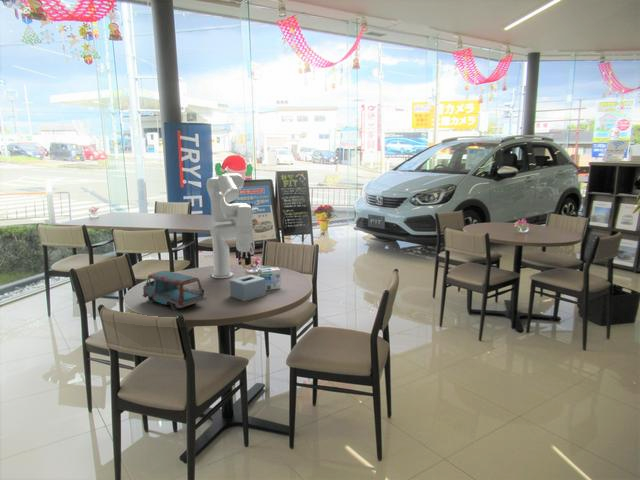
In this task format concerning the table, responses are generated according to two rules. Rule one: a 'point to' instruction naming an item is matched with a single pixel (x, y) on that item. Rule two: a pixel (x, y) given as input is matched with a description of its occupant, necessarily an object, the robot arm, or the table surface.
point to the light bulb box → (271, 277)
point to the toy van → (172, 289)
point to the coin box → (247, 287)
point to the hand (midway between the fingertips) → (246, 264)
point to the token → (244, 263)
